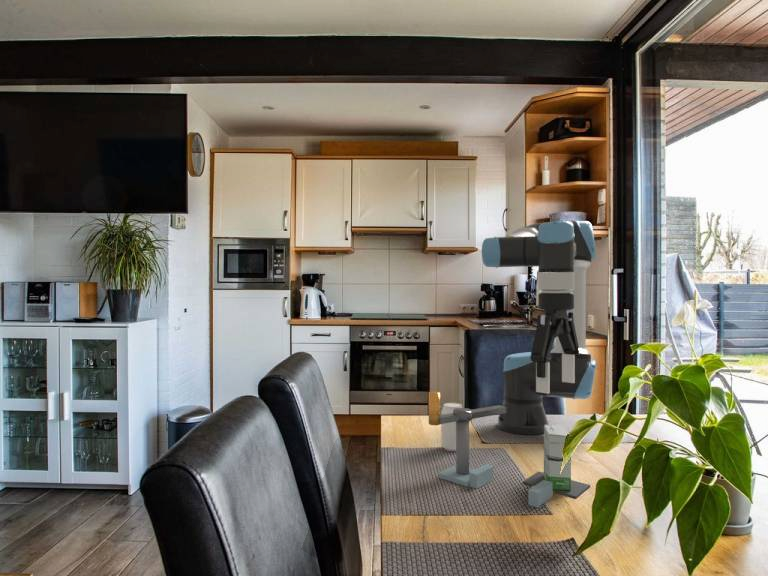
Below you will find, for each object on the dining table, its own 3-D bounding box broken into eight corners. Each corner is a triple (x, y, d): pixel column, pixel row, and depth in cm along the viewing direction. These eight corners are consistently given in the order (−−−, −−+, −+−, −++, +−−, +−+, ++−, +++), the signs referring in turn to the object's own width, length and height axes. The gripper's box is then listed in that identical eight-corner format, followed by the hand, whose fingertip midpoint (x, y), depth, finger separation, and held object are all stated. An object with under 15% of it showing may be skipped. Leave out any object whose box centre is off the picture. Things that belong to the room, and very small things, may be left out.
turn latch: (424, 422, 112) (424, 391, 112) (496, 409, 123) (496, 381, 123) (435, 427, 108) (435, 395, 108) (509, 413, 119) (509, 384, 119)
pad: (538, 473, 117) (538, 471, 117) (590, 486, 109) (590, 484, 109) (522, 483, 111) (522, 481, 111) (576, 498, 103) (576, 496, 103)
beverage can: (462, 453, 131) (462, 408, 131) (439, 451, 133) (439, 406, 133) (465, 446, 137) (465, 402, 137) (443, 444, 139) (443, 401, 139)
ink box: (571, 491, 106) (571, 435, 106) (547, 489, 107) (547, 434, 107) (565, 476, 114) (565, 424, 114) (543, 474, 115) (543, 423, 115)
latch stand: (457, 467, 121) (457, 413, 121) (553, 495, 105) (553, 433, 105) (438, 477, 115) (438, 420, 115) (536, 508, 99) (536, 442, 99)
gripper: (562, 290, 122) (562, 376, 122) (513, 293, 103) (513, 394, 104) (593, 290, 117) (593, 380, 117) (548, 293, 98) (548, 400, 99)
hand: (556, 387), depth 111 cm, fingers open, 13 cm apart
